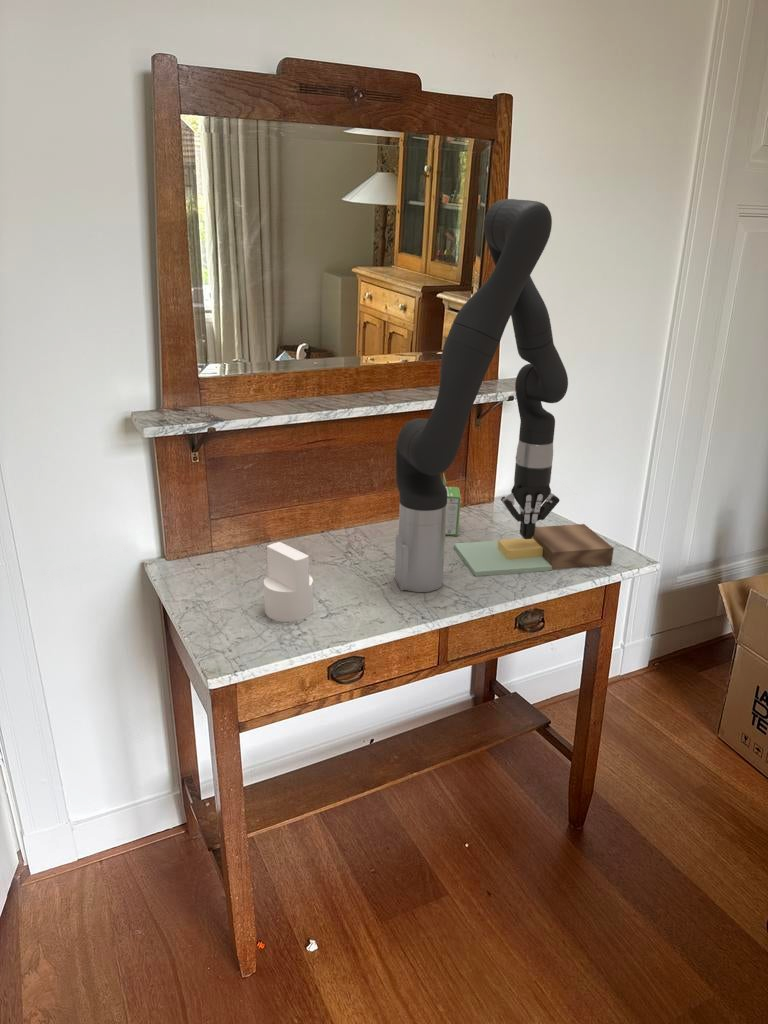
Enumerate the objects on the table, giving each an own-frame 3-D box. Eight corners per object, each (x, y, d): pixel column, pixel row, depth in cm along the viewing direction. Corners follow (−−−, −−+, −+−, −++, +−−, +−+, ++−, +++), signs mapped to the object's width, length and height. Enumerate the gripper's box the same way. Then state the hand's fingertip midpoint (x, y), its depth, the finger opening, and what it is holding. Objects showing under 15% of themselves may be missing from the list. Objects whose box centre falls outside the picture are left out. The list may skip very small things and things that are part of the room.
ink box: (458, 536, 176) (462, 481, 171) (441, 536, 176) (444, 481, 171) (456, 525, 182) (460, 472, 178) (440, 524, 182) (443, 472, 178)
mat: (474, 576, 156) (475, 571, 156) (453, 547, 170) (453, 543, 169) (551, 570, 159) (552, 566, 159) (524, 542, 173) (525, 538, 173)
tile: (507, 559, 162) (508, 550, 161) (497, 548, 167) (498, 539, 166) (542, 556, 163) (543, 548, 163) (531, 545, 169) (532, 537, 168)
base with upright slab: (255, 609, 141) (252, 550, 136) (293, 594, 147) (291, 537, 142) (284, 626, 135) (283, 565, 131) (323, 610, 141) (322, 551, 136)
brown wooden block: (550, 569, 160) (552, 552, 158) (525, 543, 173) (527, 527, 171) (611, 565, 163) (613, 548, 161) (582, 539, 175) (584, 524, 174)
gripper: (510, 468, 153) (503, 546, 159) (571, 465, 156) (562, 542, 162) (497, 457, 160) (491, 533, 166) (556, 455, 162) (548, 529, 169)
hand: (526, 537), depth 164 cm, fingers closed
